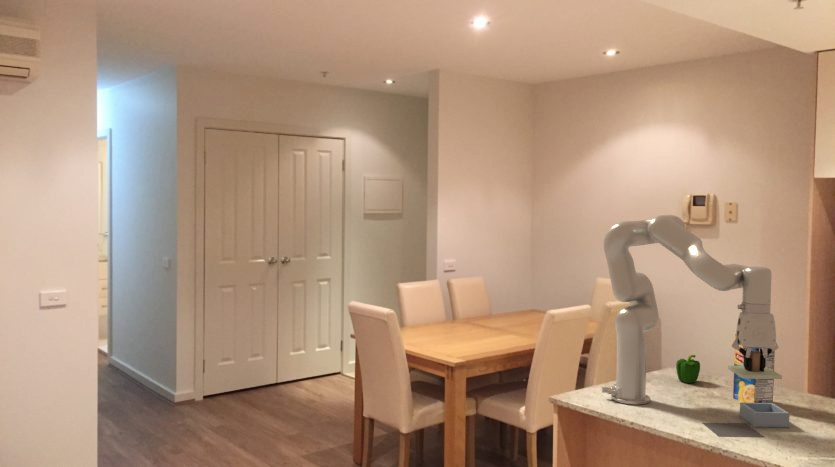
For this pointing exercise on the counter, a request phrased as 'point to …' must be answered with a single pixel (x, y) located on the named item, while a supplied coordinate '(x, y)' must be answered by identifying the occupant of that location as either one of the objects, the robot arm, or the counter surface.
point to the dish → (764, 415)
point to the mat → (732, 430)
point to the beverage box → (753, 382)
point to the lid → (755, 369)
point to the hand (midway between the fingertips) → (754, 369)
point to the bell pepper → (688, 369)
